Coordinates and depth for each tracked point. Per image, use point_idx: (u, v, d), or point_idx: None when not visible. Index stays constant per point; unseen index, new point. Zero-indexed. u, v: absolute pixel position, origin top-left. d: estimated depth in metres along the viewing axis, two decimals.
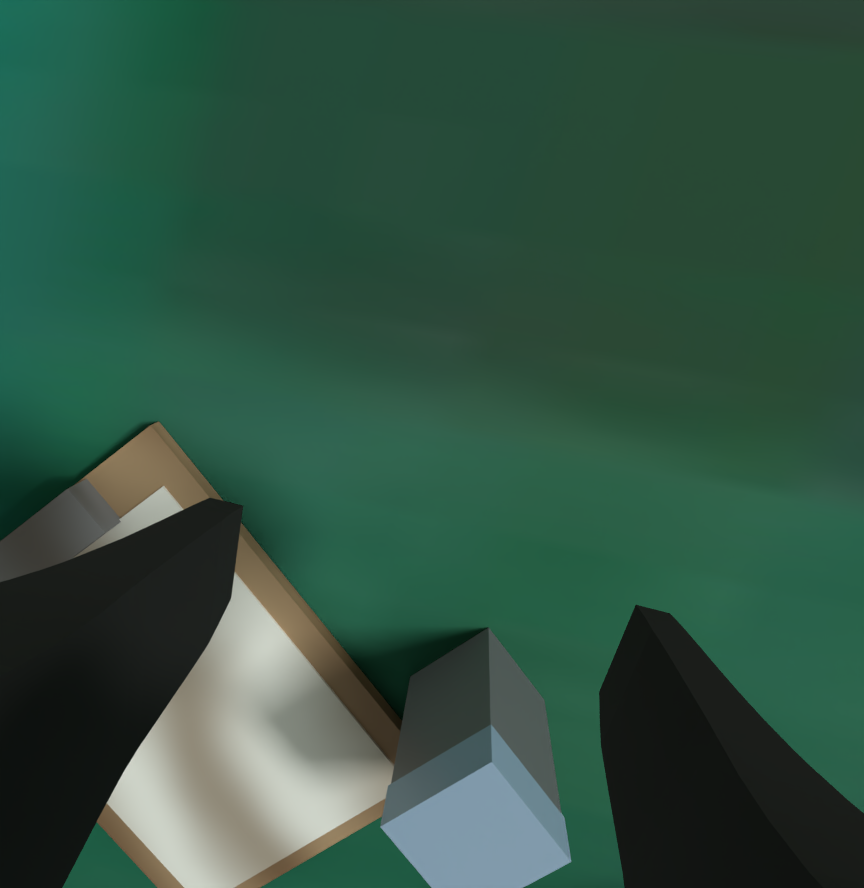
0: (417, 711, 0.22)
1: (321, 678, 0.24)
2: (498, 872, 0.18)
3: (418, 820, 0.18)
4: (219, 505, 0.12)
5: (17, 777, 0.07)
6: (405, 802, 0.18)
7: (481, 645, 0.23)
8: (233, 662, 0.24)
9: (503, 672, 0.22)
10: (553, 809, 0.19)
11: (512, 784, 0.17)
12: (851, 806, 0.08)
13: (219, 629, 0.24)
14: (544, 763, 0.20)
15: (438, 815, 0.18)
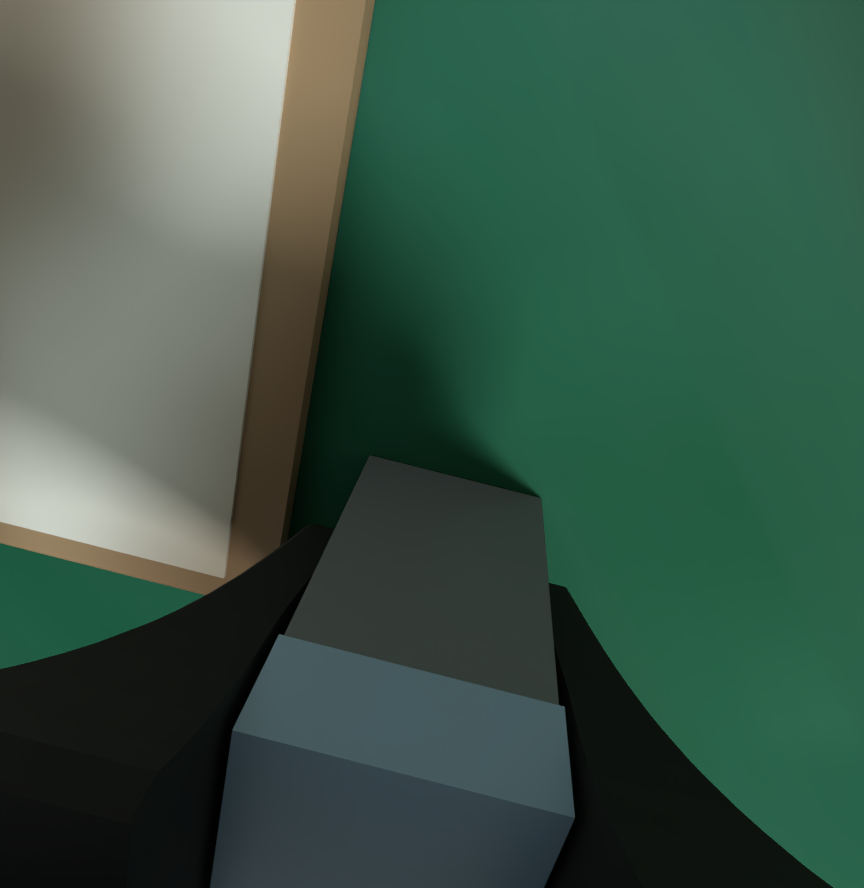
0: (376, 528, 0.11)
1: (253, 338, 0.12)
2: None
3: (317, 781, 0.07)
4: (324, 531, 0.12)
5: (195, 823, 0.07)
6: (316, 721, 0.07)
7: (527, 518, 0.12)
8: (136, 171, 0.11)
9: None
10: None
11: None
12: (692, 766, 0.08)
13: (167, 90, 0.11)
14: None
15: (365, 803, 0.07)
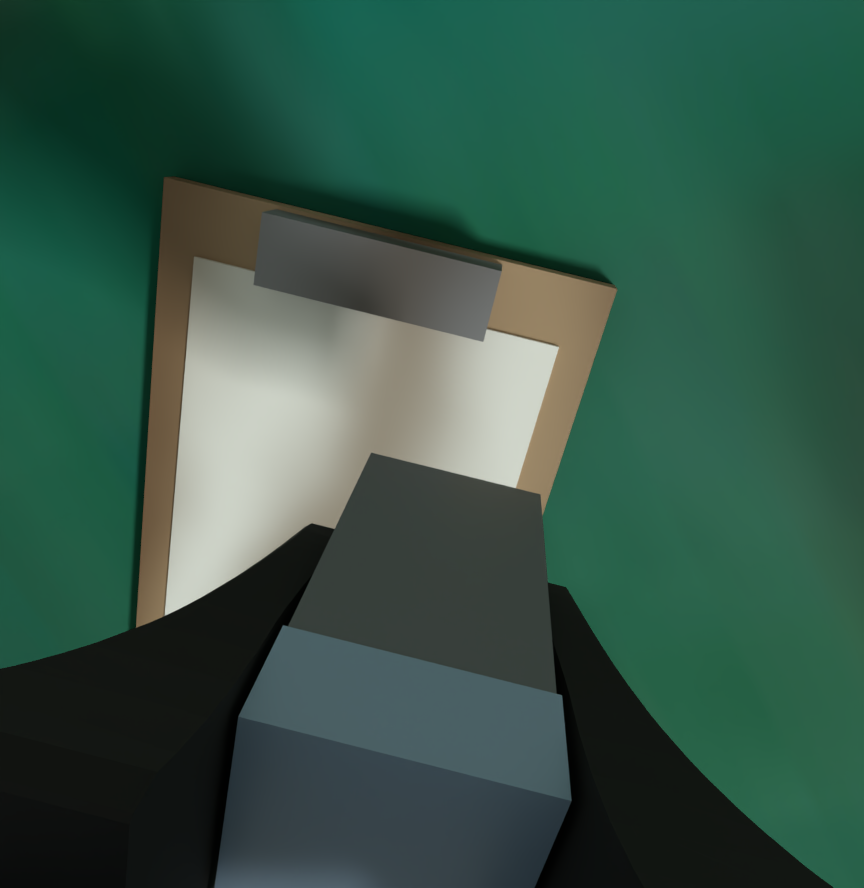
0: (378, 524, 0.11)
1: None
2: None
3: (320, 766, 0.07)
4: (324, 531, 0.12)
5: (195, 823, 0.07)
6: (319, 708, 0.07)
7: (527, 513, 0.13)
8: None
9: None
10: None
11: None
12: (693, 766, 0.08)
13: None
14: None
15: (367, 788, 0.07)
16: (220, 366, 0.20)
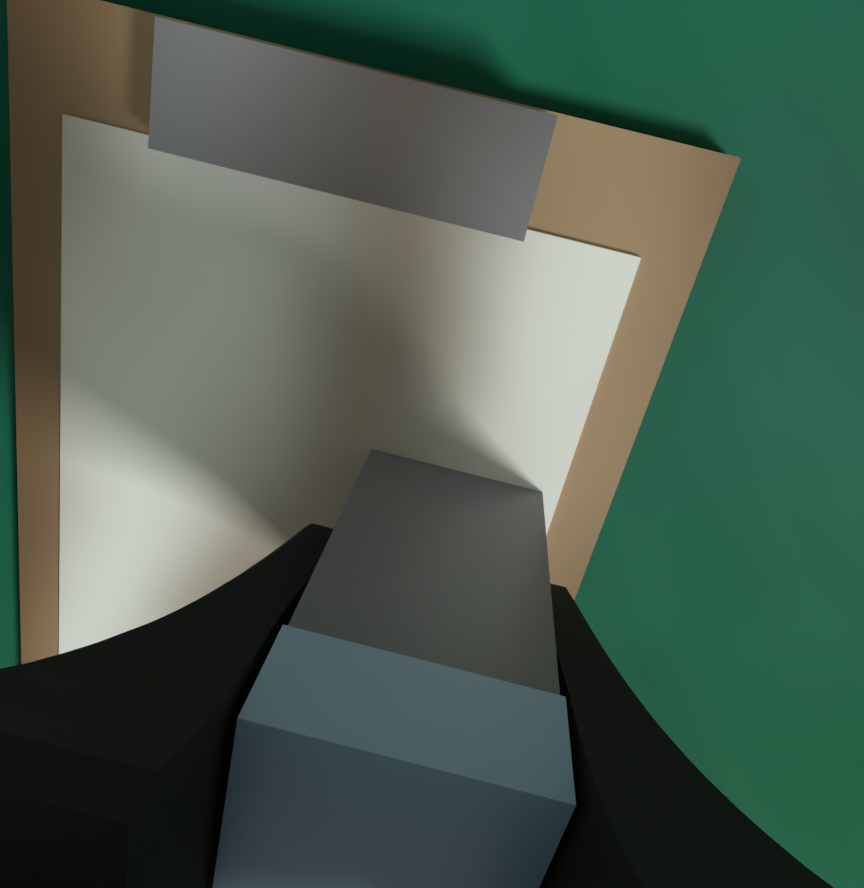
0: (378, 521, 0.11)
1: None
2: None
3: (320, 768, 0.07)
4: (324, 531, 0.12)
5: (195, 823, 0.07)
6: (320, 709, 0.07)
7: (529, 511, 0.12)
8: None
9: None
10: None
11: None
12: (693, 766, 0.08)
13: None
14: None
15: (368, 790, 0.07)
16: (115, 296, 0.13)
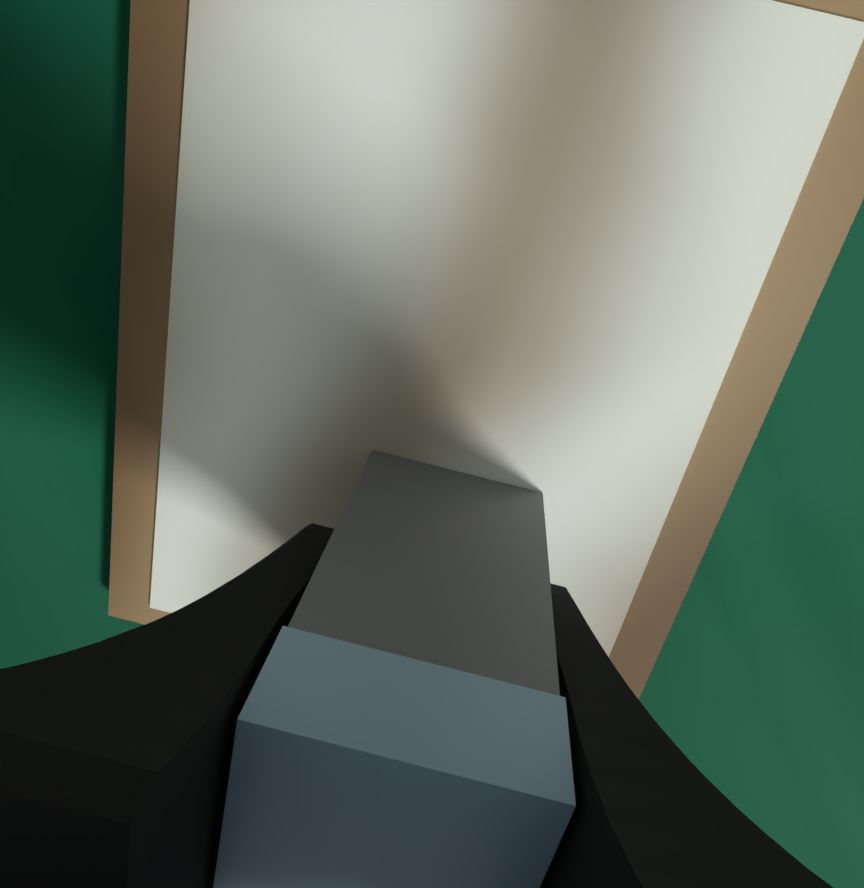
0: (378, 522, 0.11)
1: (662, 524, 0.13)
2: None
3: (322, 769, 0.07)
4: (324, 532, 0.12)
5: (195, 823, 0.07)
6: (320, 710, 0.07)
7: (530, 512, 0.12)
8: (584, 388, 0.13)
9: None
10: None
11: None
12: (692, 766, 0.08)
13: (634, 328, 0.12)
14: None
15: (368, 791, 0.07)
16: (245, 98, 0.11)
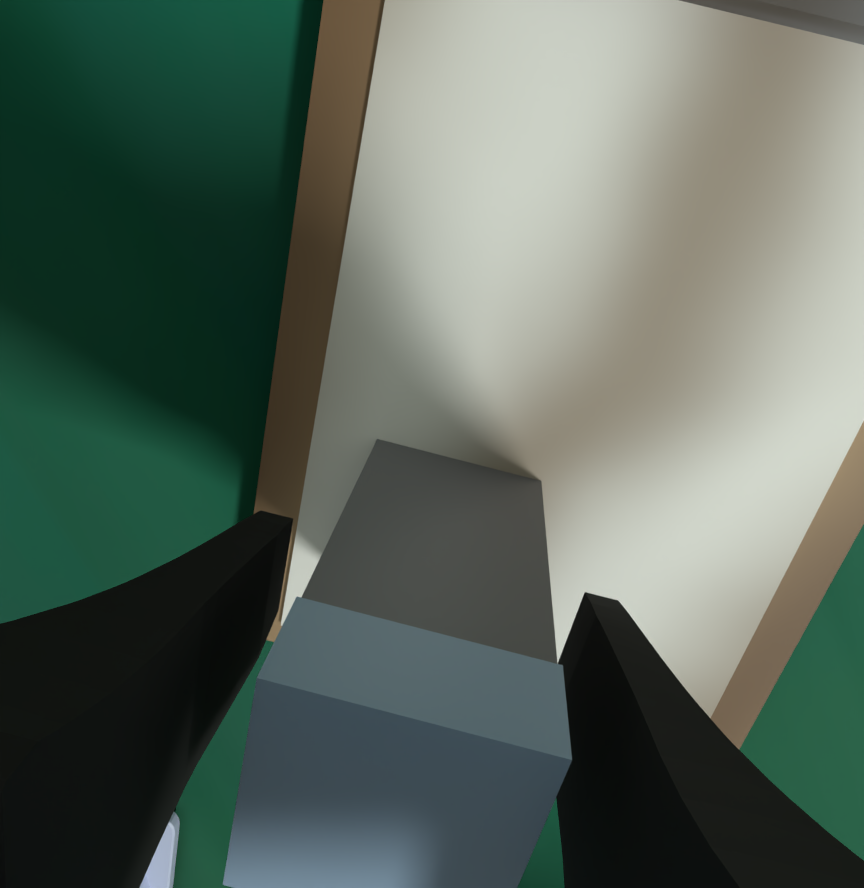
0: (385, 505, 0.12)
1: (796, 548, 0.14)
2: (366, 883, 0.09)
3: (334, 726, 0.08)
4: (271, 518, 0.12)
5: (105, 800, 0.07)
6: (333, 672, 0.08)
7: (528, 498, 0.13)
8: (730, 419, 0.13)
9: None
10: None
11: None
12: (773, 785, 0.08)
13: (785, 363, 0.12)
14: None
15: (378, 747, 0.08)
16: (420, 142, 0.12)
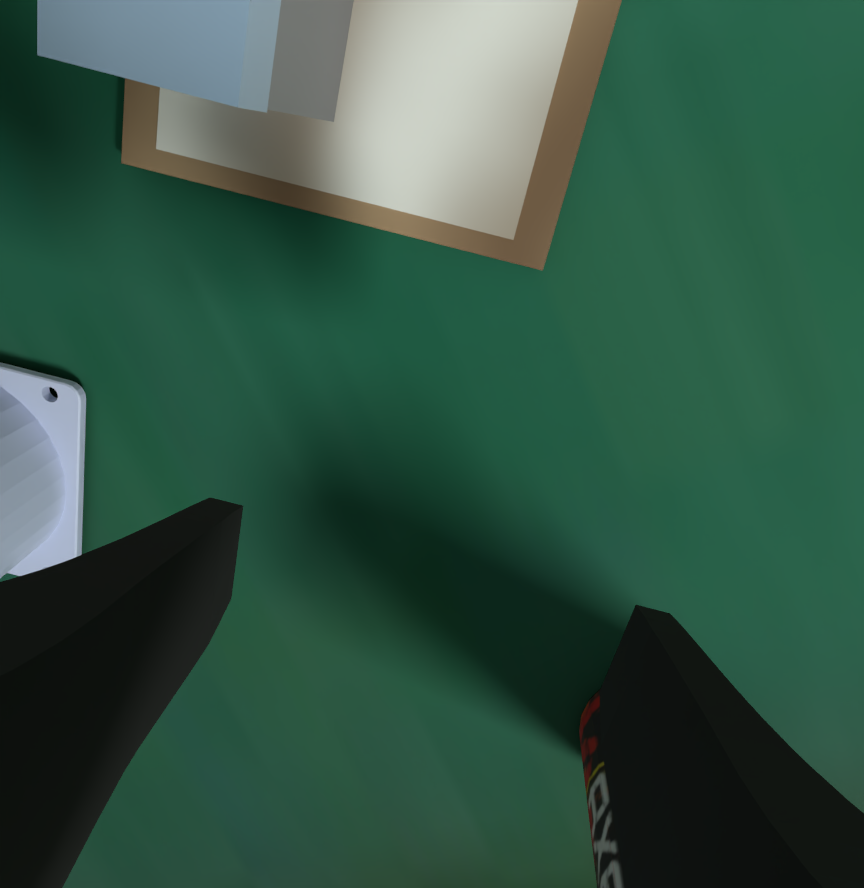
0: None
1: (570, 29, 0.17)
2: (140, 32, 0.11)
3: None
4: (219, 505, 0.12)
5: (17, 777, 0.07)
6: None
7: None
8: None
9: None
10: (266, 77, 0.13)
11: None
12: (850, 807, 0.08)
13: None
14: (293, 80, 0.14)
15: None
16: None
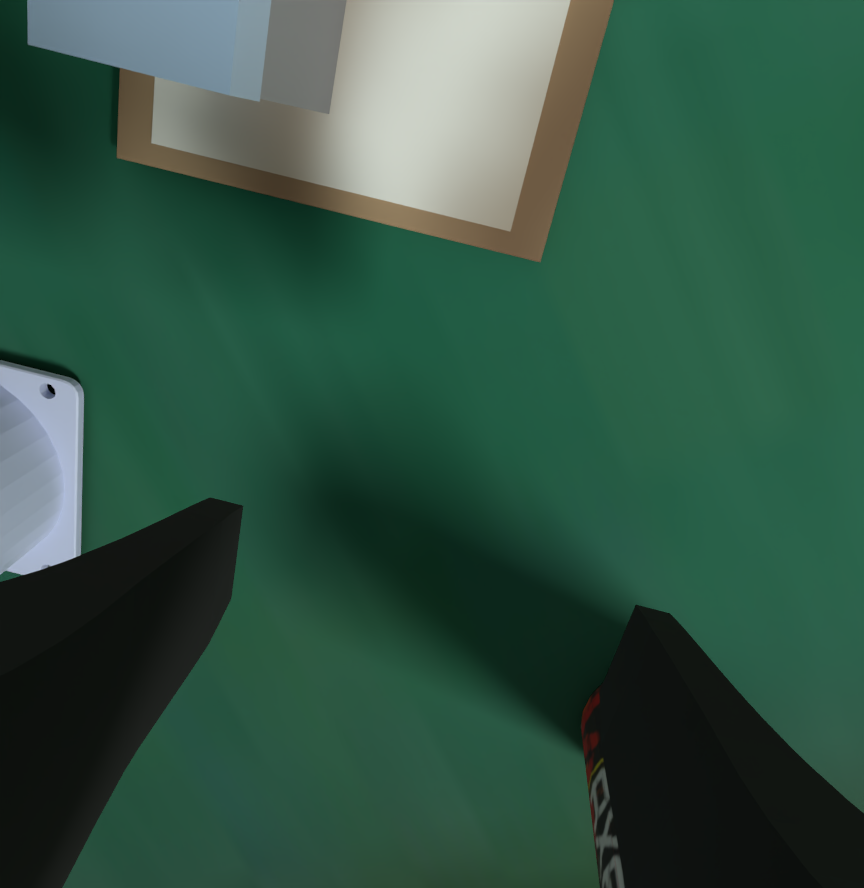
0: None
1: (565, 18, 0.17)
2: (130, 20, 0.11)
3: None
4: (219, 505, 0.12)
5: (17, 777, 0.07)
6: None
7: None
8: None
9: None
10: (258, 65, 0.12)
11: None
12: (851, 807, 0.08)
13: None
14: (286, 70, 0.14)
15: None
16: None
